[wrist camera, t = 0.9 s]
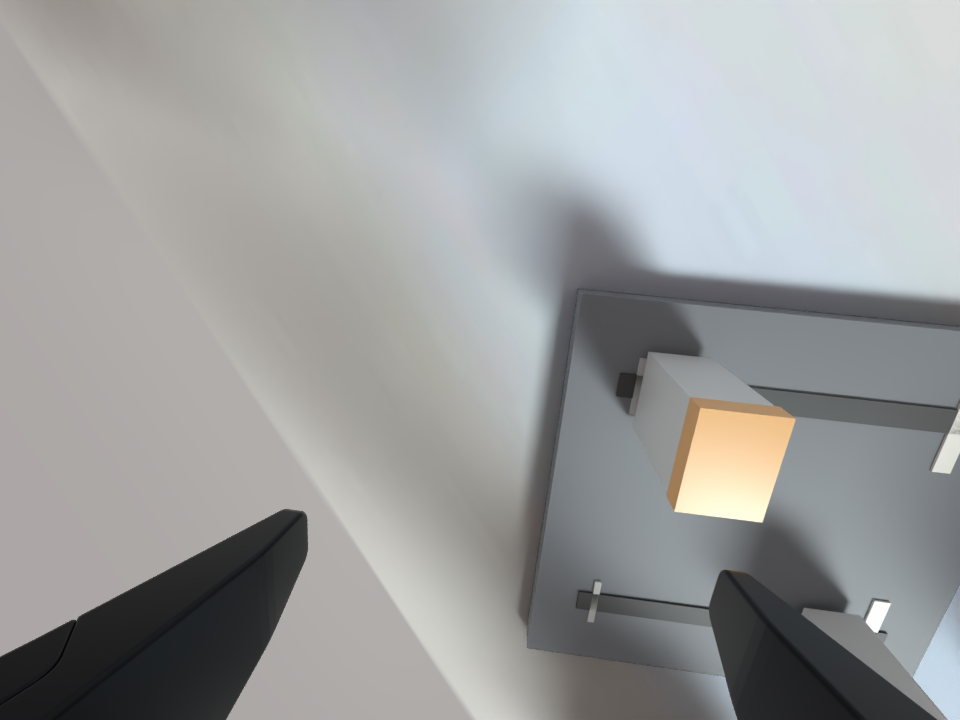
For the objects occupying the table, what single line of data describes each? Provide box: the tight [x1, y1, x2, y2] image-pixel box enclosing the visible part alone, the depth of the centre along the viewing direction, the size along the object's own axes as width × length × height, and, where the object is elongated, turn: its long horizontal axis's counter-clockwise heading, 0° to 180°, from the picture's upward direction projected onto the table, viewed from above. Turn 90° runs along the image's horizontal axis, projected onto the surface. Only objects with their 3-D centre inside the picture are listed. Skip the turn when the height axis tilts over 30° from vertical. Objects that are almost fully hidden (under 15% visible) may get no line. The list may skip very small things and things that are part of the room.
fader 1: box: [633, 352, 796, 522], centre depth 16 cm, size 3×2×6 cm
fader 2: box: [802, 608, 947, 720], centre depth 18 cm, size 3×2×6 cm
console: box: [527, 289, 960, 678], centre depth 21 cm, size 18×18×1 cm
